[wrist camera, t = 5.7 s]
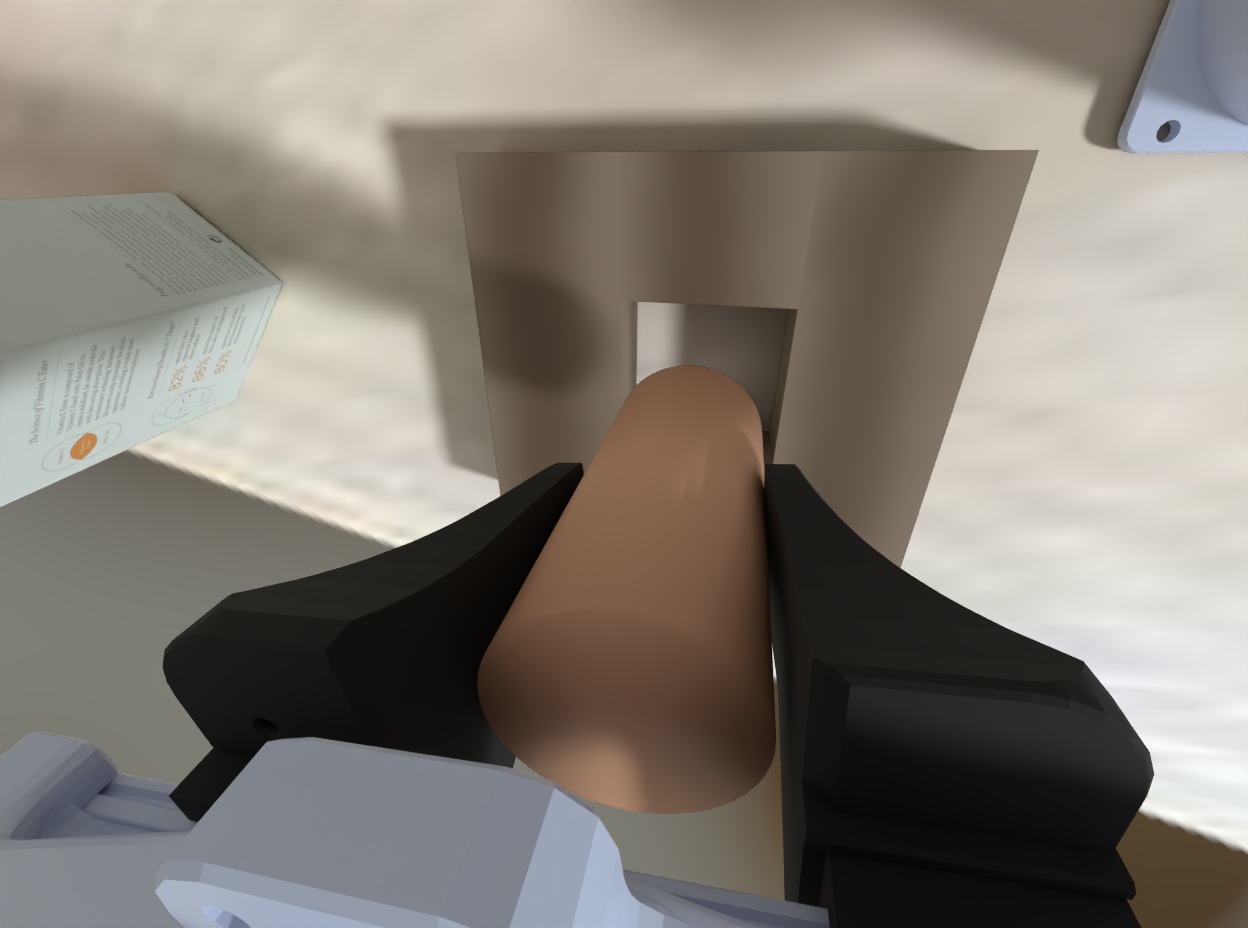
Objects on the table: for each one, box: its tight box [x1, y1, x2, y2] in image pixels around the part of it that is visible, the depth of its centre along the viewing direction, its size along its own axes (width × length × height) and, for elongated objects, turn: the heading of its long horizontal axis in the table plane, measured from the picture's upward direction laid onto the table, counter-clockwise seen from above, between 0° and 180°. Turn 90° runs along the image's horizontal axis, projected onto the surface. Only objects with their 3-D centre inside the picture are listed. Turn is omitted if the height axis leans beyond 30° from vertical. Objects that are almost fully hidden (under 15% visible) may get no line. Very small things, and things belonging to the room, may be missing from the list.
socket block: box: [456, 150, 1039, 568], centre depth 19 cm, size 16×14×3 cm
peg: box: [477, 366, 776, 814], centre depth 11 cm, size 4×4×9 cm
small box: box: [0, 192, 282, 507], centre depth 20 cm, size 8×6×10 cm
